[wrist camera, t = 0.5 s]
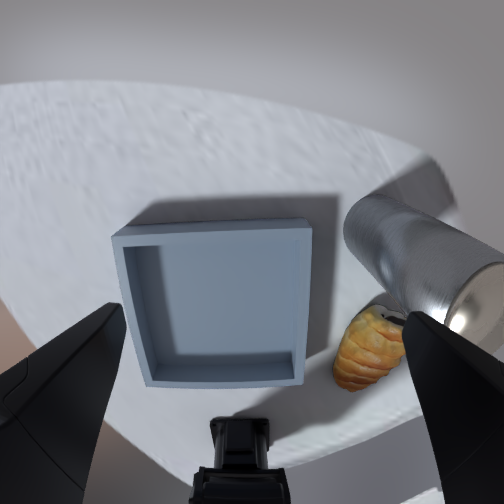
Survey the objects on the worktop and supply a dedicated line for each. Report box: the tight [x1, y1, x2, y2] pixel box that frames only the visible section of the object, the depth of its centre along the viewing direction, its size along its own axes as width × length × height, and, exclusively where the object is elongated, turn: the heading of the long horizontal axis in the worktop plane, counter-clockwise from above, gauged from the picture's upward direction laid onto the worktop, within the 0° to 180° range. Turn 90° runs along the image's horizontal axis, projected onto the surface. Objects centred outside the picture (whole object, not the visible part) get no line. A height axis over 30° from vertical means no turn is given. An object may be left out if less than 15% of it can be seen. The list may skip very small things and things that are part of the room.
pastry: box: [333, 304, 407, 392], centre depth 27 cm, size 9×7×4 cm
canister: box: [343, 195, 504, 355], centre depth 17 cm, size 6×6×15 cm
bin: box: [111, 218, 312, 389], centre depth 25 cm, size 14×14×3 cm
